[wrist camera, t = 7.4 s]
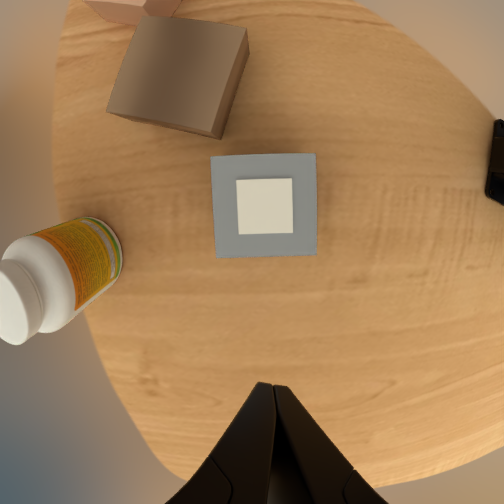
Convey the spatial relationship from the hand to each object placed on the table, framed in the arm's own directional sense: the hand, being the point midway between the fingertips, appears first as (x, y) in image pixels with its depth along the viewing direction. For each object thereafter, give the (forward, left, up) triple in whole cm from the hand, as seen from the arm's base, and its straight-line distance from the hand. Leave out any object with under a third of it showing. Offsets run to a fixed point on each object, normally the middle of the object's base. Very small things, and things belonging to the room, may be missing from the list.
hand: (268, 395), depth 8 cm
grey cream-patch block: (+1, -4, -12) cm, 13 cm away
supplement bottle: (+12, +2, -12) cm, 17 cm away
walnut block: (+7, -10, -12) cm, 17 cm away
